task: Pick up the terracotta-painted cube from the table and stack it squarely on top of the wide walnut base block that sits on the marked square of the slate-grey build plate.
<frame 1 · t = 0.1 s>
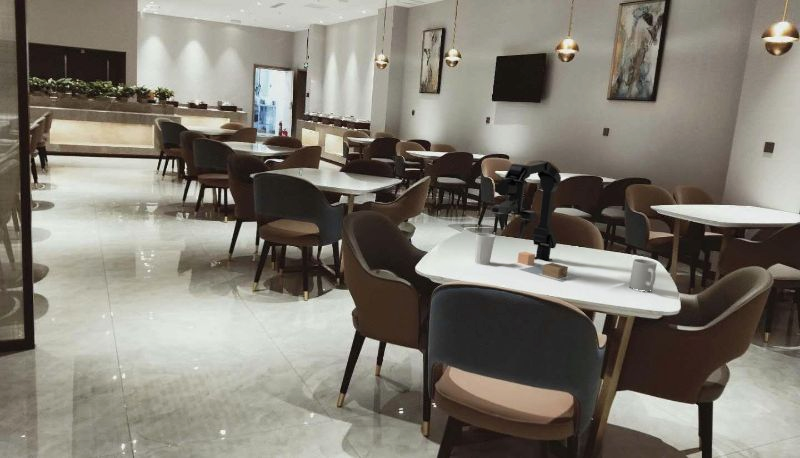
hand: (511, 232, 251), 14 cm above the table, fingers open, 9 cm apart
mug: (642, 290, 235), on the table
build plate: (550, 274, 246), on the table
base block: (554, 275, 242), point 1 cm above the table, touching build plate
cup: (482, 263, 256), on the table
top block: (525, 264, 260), on the table
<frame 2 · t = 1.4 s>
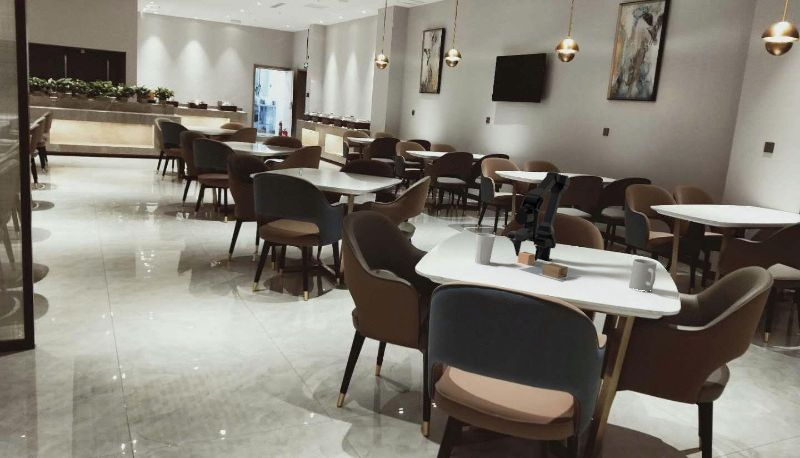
hand: (526, 258, 259), 3 cm above the table, fingers open, 9 cm apart
nothing on the table moved.
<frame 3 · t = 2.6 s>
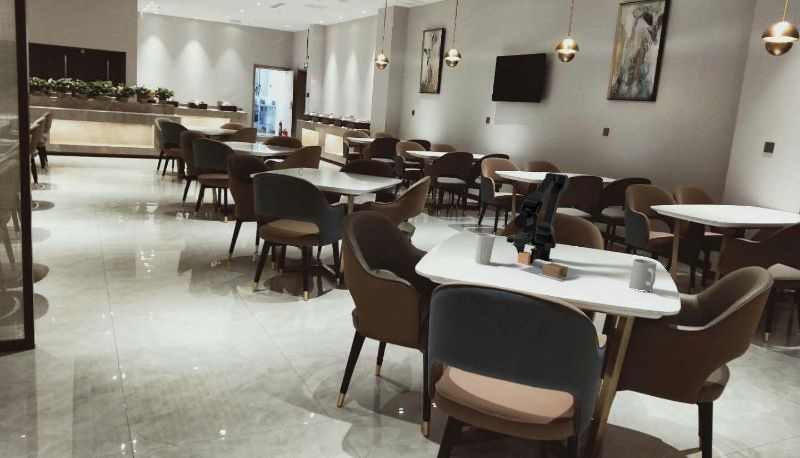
hand: (525, 262, 260), 1 cm above the table, fingers closed on top block, 5 cm apart
top block: (525, 264, 260), on the table, touching gripper
everything else where it was.
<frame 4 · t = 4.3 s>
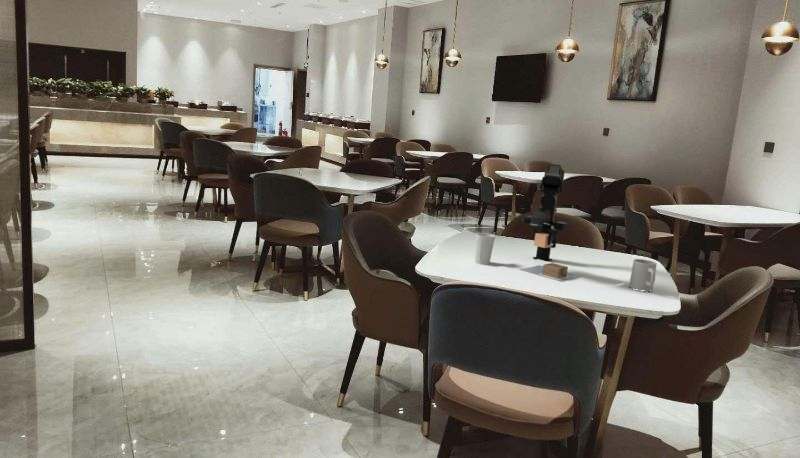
hand: (543, 243, 248), 12 cm above the table, fingers closed on top block, 5 cm apart
top block: (542, 246, 248), point 11 cm above the table, touching gripper
everything else where it was.
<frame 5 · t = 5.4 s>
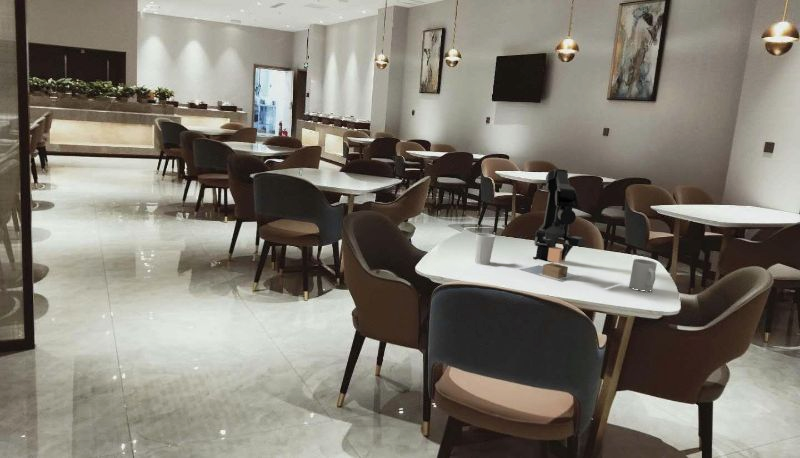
hand: (556, 258, 241), 8 cm above the table, fingers closed on top block, 5 cm apart
top block: (556, 260, 241), point 7 cm above the table, touching gripper
everything else where it was.
when the fingers open (7 cm above the table, at t = 6.3 s): top block drops 1 cm, resting on base block.
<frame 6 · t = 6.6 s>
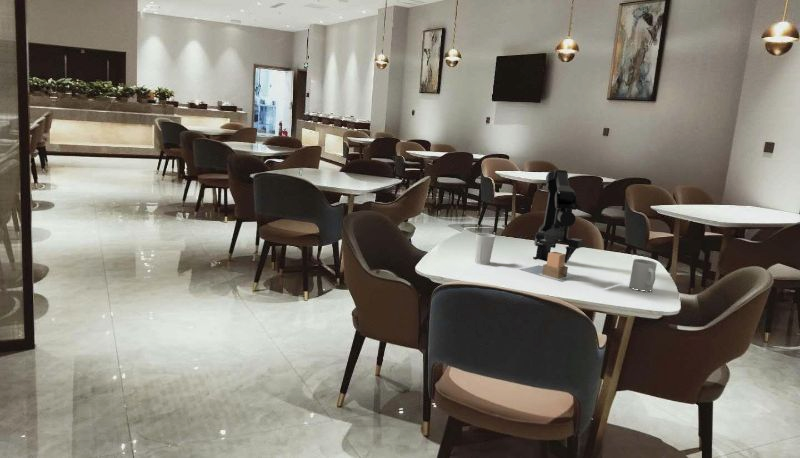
hand: (556, 260, 241), 7 cm above the table, fingers open, 8 cm apart
base block: (554, 275, 242), point 1 cm above the table, touching build plate, top block
top block: (555, 265, 242), point 5 cm above the table, touching base block
everything else where it was.
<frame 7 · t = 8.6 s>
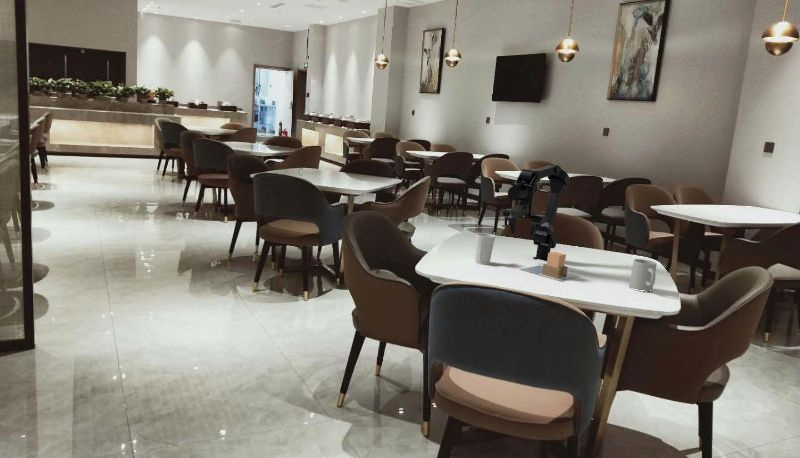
hand: (521, 235, 257), 12 cm above the table, fingers open, 9 cm apart
nothing on the table moved.
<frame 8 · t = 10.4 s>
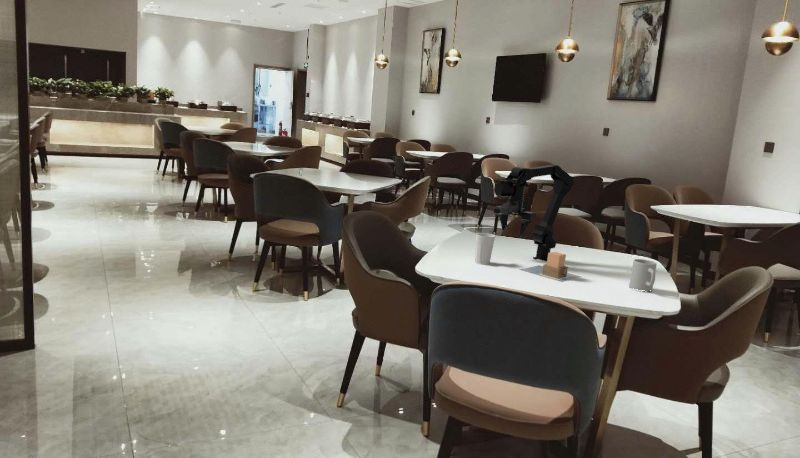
hand: (512, 232, 262), 12 cm above the table, fingers open, 9 cm apart
nothing on the table moved.
at the end: top block 0.1 cm off-centre on the base block, point 4.0 cm above the base block's base; top block tilted 0°; the gripper is holding nothing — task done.
